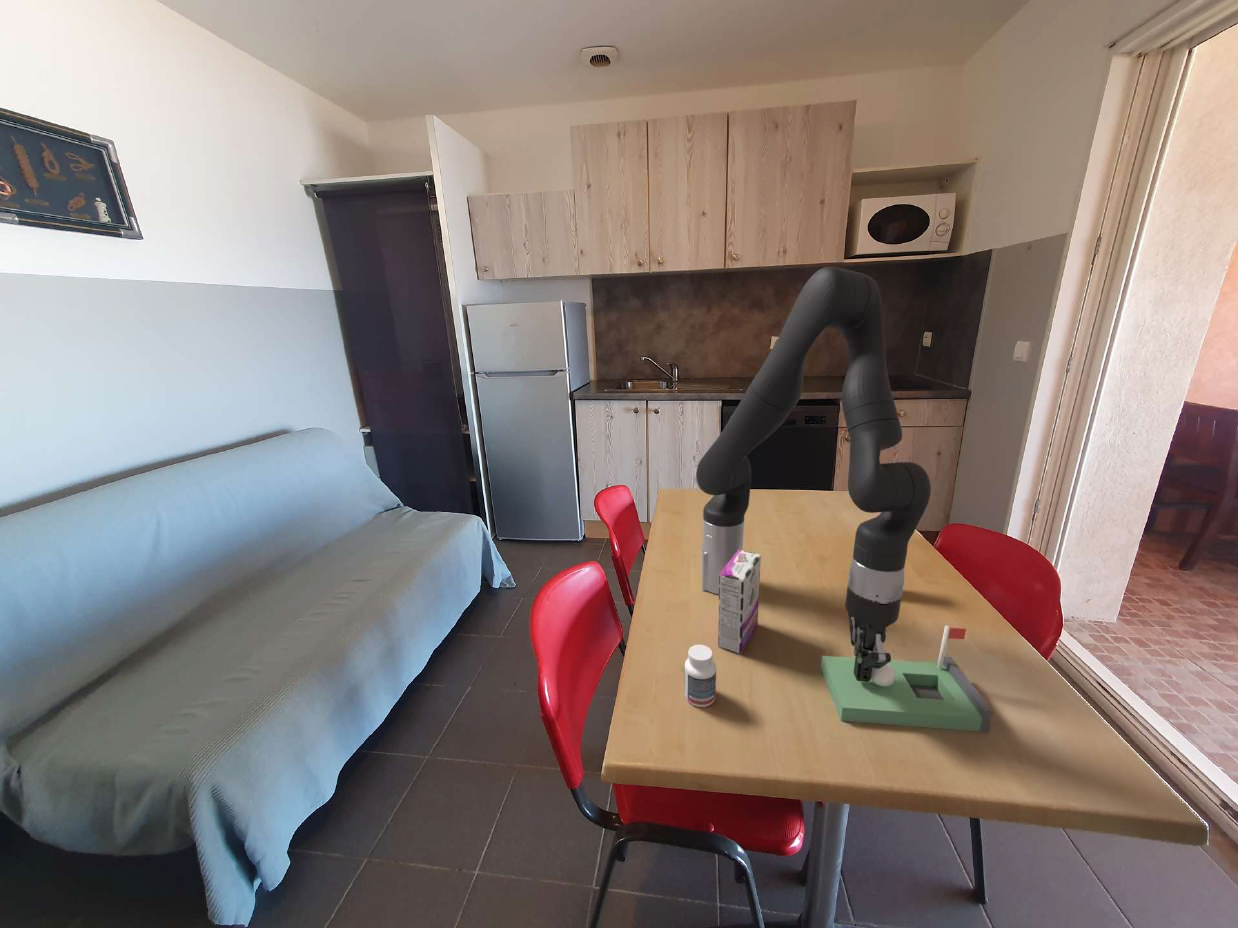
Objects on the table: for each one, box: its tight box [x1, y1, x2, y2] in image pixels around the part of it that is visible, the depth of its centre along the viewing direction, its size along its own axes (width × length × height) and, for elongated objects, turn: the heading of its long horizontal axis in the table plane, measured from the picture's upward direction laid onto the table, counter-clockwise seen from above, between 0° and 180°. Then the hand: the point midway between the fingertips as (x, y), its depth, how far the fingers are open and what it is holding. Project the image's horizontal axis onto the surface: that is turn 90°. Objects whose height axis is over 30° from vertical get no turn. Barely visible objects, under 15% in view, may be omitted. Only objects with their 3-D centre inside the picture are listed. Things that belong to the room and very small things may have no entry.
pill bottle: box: [683, 644, 717, 708], centre depth 80 cm, size 5×5×9 cm
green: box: [820, 624, 994, 733], centre depth 78 cm, size 22×12×11 cm, turn 82°
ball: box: [871, 663, 895, 687], centre depth 79 cm, size 4×4×4 cm
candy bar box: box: [717, 549, 762, 655], centre depth 94 cm, size 11×5×16 cm, turn 148°
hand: (861, 678), depth 79 cm, fingers closed
